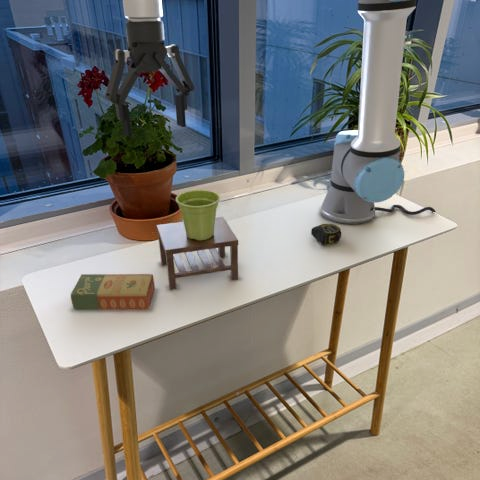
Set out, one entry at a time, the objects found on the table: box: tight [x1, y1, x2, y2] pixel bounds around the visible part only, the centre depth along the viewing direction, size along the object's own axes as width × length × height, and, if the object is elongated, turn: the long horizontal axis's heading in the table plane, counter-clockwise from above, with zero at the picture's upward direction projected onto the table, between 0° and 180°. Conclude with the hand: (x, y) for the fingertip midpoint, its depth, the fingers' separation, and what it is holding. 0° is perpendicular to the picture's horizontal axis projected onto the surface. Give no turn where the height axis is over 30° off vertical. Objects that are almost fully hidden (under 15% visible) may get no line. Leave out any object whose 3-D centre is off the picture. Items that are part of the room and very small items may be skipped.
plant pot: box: [175, 189, 221, 240], centre depth 106 cm, size 9×9×9 cm
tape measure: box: [310, 223, 342, 247], centre depth 126 cm, size 7×7×4 cm
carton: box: [70, 273, 156, 311], centre depth 104 cm, size 8×16×4 cm, turn 89°
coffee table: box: [156, 216, 239, 291], centre depth 112 cm, size 16×13×10 cm
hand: (155, 130), depth 109 cm, fingers open, 13 cm apart
